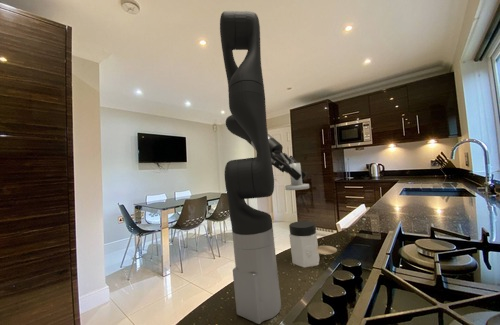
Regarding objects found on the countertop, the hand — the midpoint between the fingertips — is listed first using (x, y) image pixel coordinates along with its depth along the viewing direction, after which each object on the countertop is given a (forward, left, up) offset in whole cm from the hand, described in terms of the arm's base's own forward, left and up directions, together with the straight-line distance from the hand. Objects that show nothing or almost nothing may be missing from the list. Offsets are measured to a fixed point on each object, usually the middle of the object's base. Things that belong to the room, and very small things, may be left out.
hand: (302, 177), depth 66 cm
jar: (0, +2, -27) cm, 27 cm away
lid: (0, +2, -4) cm, 4 cm away
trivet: (+11, 0, -27) cm, 29 cm away
